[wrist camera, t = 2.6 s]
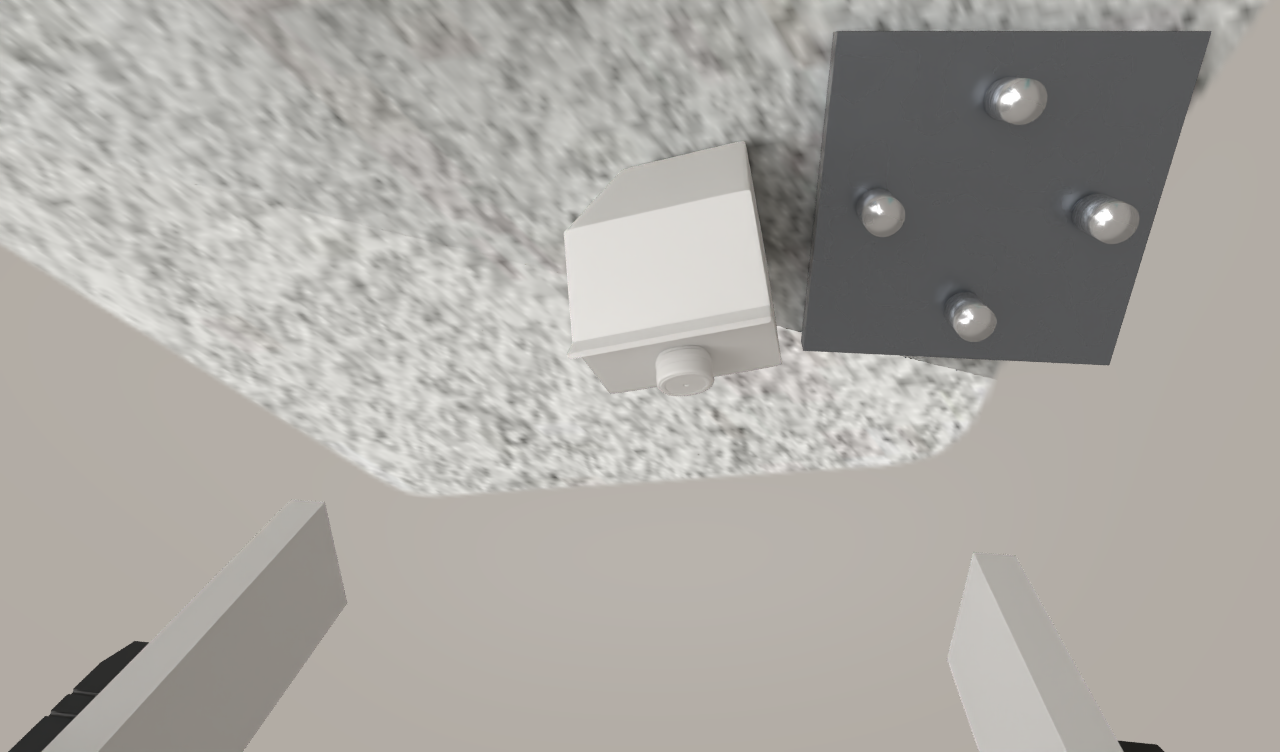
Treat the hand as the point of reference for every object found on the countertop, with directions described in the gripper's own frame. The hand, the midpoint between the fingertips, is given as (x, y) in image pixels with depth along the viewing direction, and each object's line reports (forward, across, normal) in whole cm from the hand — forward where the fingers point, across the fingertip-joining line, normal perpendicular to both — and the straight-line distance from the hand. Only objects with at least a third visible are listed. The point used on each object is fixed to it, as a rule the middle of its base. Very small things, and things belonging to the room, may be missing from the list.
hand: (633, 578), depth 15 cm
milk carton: (+30, 0, +1) cm, 30 cm away
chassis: (+30, +15, +2) cm, 33 cm away
